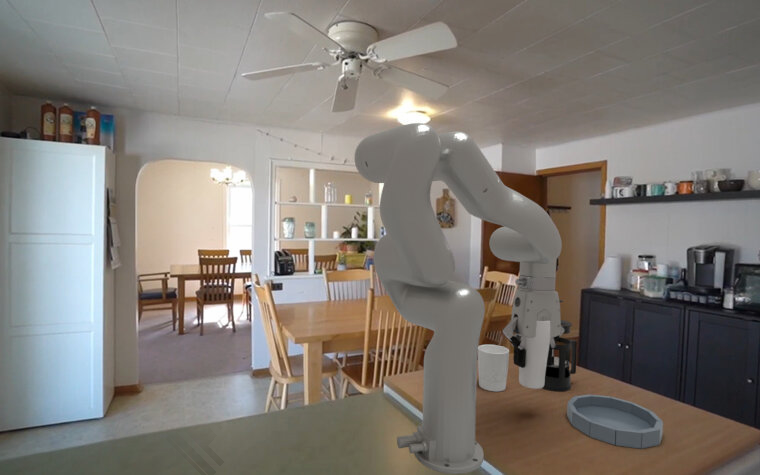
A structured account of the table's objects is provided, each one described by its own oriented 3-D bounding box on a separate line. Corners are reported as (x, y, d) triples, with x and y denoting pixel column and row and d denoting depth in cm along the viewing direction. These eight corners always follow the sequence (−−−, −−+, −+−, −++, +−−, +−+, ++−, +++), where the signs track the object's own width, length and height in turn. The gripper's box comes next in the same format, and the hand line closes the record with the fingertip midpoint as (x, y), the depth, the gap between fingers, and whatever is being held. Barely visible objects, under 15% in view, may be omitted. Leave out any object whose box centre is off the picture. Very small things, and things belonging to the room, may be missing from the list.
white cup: (470, 383, 107) (471, 346, 106) (493, 379, 110) (494, 343, 110) (490, 394, 99) (491, 355, 99) (514, 389, 103) (515, 351, 103)
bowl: (616, 453, 74) (617, 437, 74) (551, 412, 90) (551, 399, 90) (682, 440, 79) (682, 425, 79) (609, 403, 96) (609, 391, 96)
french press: (542, 392, 102) (545, 302, 101) (524, 378, 111) (526, 296, 110) (584, 390, 103) (587, 302, 103) (563, 377, 113) (565, 295, 112)
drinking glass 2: (550, 393, 85) (554, 322, 85) (517, 388, 86) (521, 319, 86) (544, 381, 91) (547, 316, 91) (513, 378, 93) (516, 313, 93)
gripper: (514, 286, 82) (509, 373, 82) (580, 287, 88) (576, 368, 88) (493, 281, 89) (489, 361, 90) (556, 282, 95) (552, 357, 95)
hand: (532, 364), depth 89 cm, fingers closed on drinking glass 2, 6 cm apart
